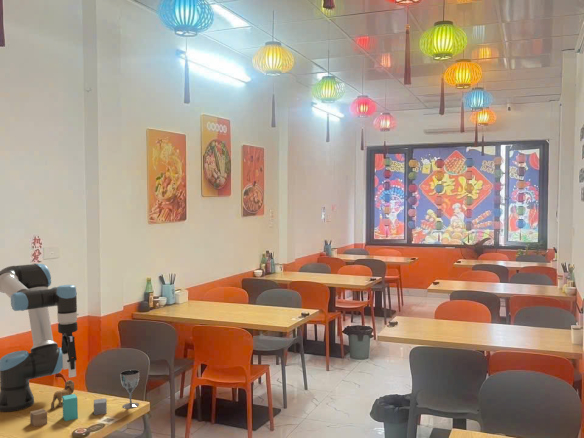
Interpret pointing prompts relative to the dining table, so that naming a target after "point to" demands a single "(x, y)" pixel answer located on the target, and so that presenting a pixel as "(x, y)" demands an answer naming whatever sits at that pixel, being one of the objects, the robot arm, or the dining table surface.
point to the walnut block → (38, 417)
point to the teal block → (70, 407)
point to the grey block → (100, 406)
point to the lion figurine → (63, 392)
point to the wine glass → (130, 385)
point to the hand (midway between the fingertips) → (69, 372)
